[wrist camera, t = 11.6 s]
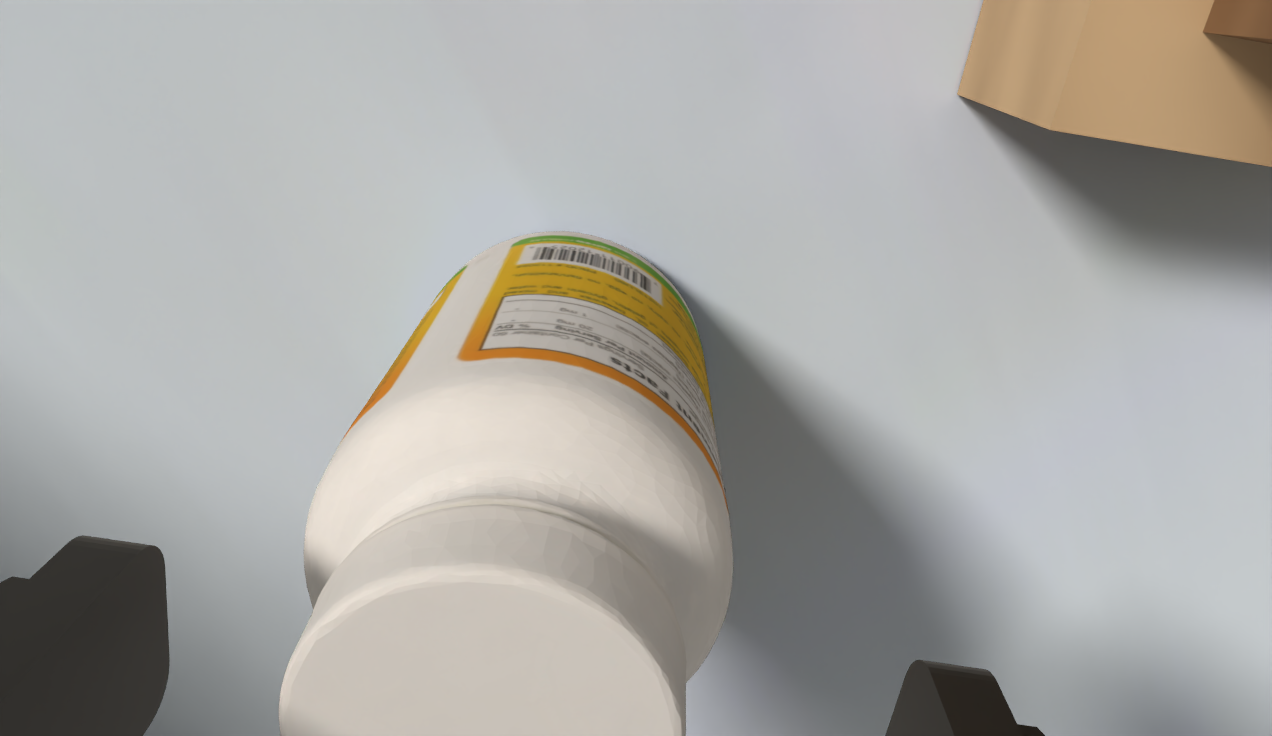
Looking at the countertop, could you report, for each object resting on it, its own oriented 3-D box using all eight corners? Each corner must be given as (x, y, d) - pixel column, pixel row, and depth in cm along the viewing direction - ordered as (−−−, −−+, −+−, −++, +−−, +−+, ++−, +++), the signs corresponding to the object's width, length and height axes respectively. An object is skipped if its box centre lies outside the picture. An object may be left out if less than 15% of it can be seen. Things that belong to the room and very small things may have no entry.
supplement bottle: (505, 521, 19) (382, 990, 10) (371, 295, 18) (81, 630, 9) (747, 425, 18) (839, 847, 10) (633, 177, 17) (615, 412, 8)
